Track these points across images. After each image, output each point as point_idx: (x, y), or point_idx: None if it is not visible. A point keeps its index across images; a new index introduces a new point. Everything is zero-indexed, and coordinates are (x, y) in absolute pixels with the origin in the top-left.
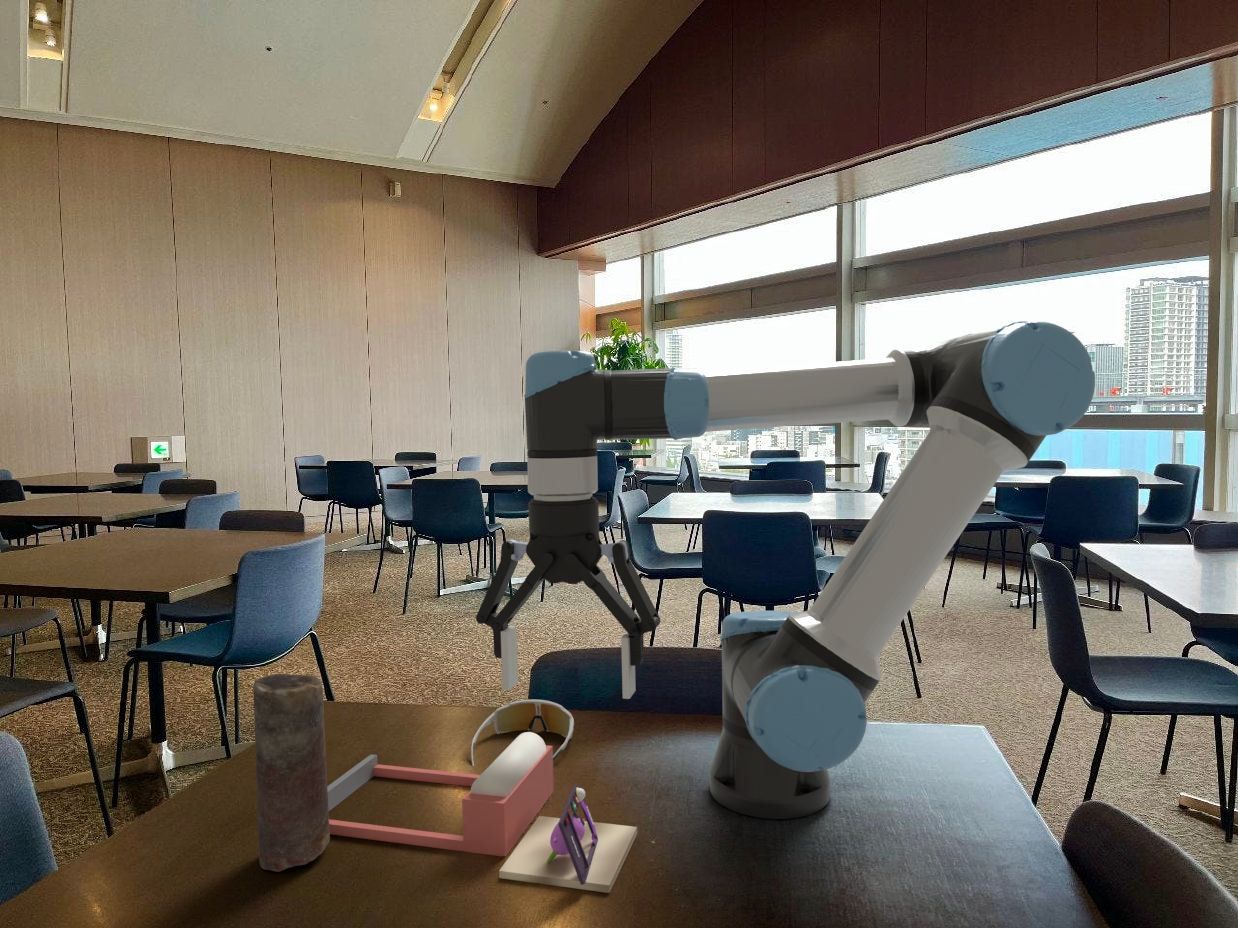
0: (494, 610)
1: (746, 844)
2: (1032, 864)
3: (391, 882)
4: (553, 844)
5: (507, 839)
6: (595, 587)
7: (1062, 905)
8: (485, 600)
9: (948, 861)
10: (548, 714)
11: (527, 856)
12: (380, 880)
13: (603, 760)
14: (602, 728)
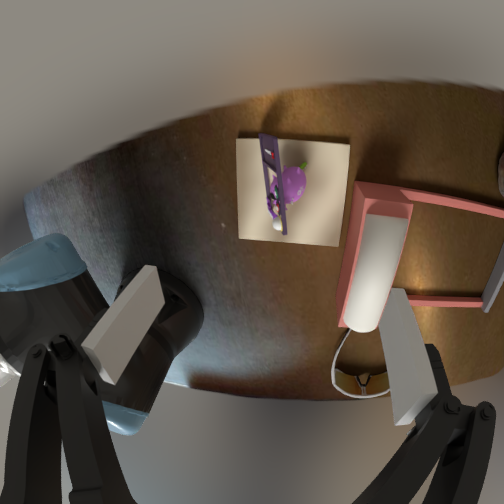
0: (449, 447)
1: (153, 232)
2: (39, 237)
3: (438, 132)
4: (300, 169)
5: (356, 190)
6: (91, 484)
7: (27, 204)
8: (484, 460)
9: (60, 233)
10: (355, 387)
11: (330, 173)
12: (448, 135)
13: (301, 343)
14: (311, 382)
